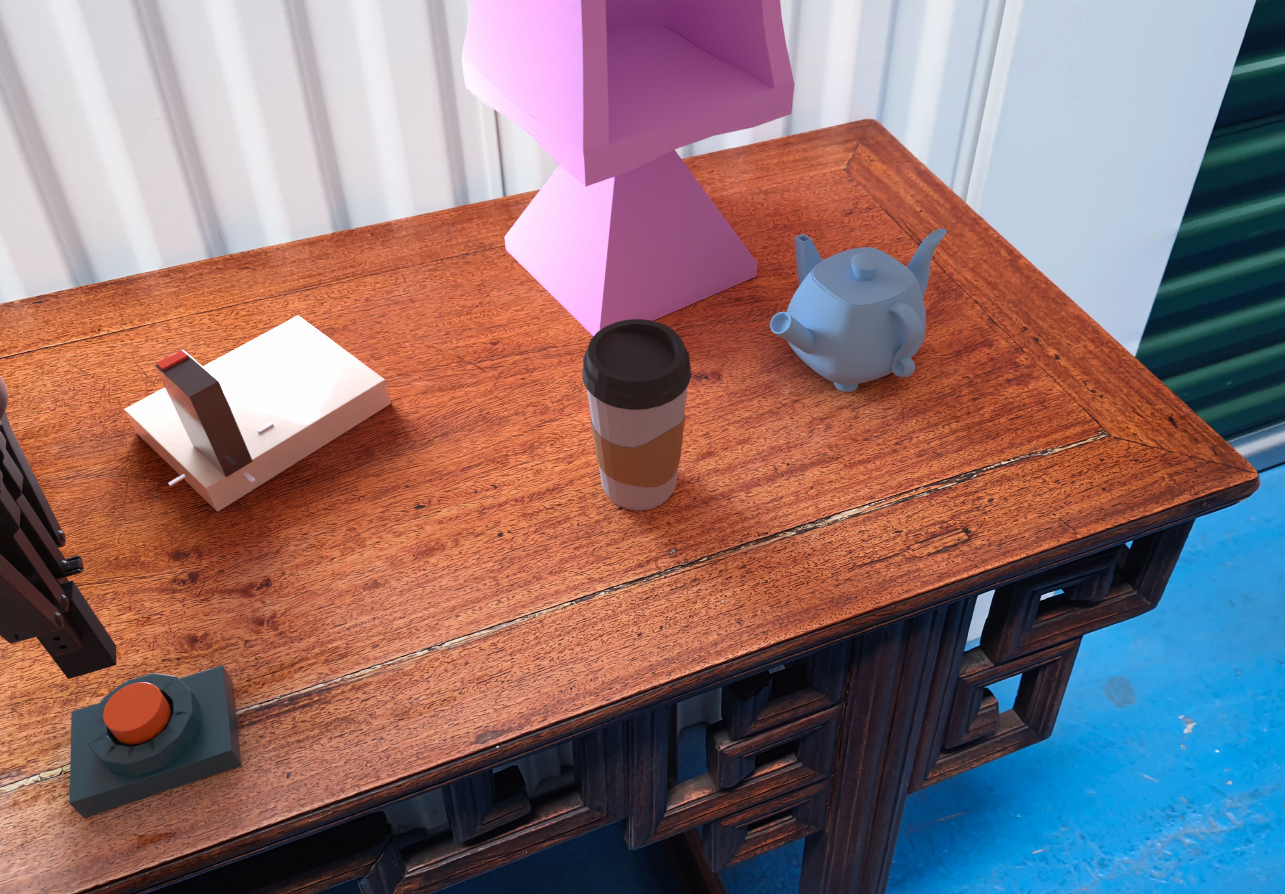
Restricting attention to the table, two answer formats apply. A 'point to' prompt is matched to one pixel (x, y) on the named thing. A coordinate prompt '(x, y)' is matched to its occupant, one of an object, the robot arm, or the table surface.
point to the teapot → (857, 311)
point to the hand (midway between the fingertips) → (92, 662)
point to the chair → (628, 139)
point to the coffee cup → (637, 409)
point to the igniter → (155, 744)
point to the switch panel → (268, 408)
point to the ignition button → (137, 713)
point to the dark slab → (204, 412)
